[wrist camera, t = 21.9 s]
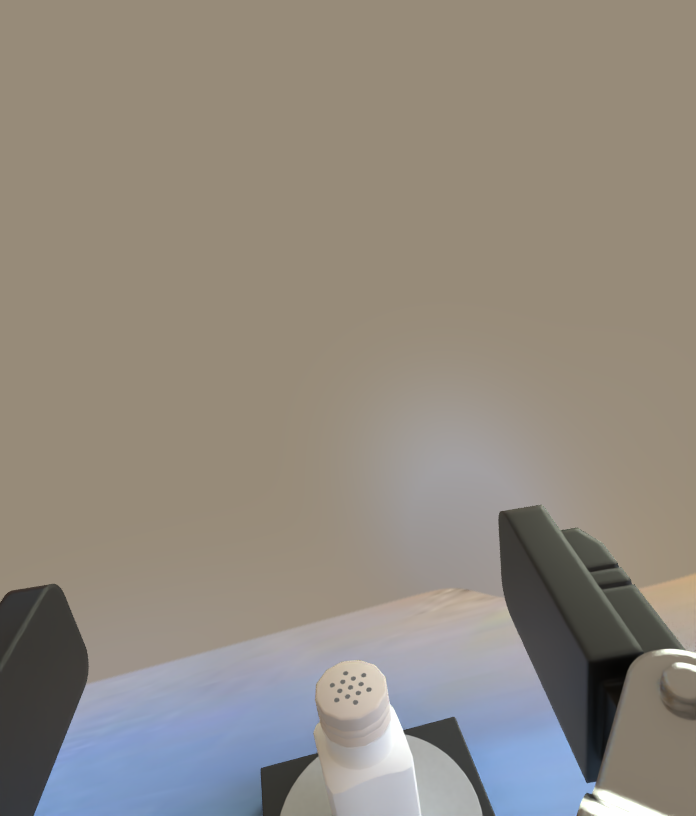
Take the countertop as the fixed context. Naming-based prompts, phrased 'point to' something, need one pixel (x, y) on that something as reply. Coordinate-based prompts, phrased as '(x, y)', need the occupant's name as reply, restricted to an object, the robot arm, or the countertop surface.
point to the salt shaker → (363, 745)
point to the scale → (434, 768)
